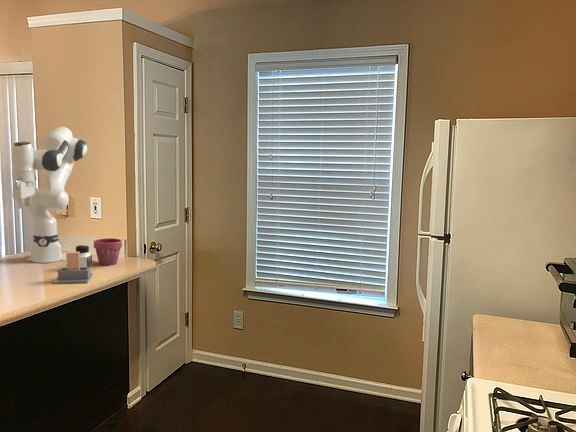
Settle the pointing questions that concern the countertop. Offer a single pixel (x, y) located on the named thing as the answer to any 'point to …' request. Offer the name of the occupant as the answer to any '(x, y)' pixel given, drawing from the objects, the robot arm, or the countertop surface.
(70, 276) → the rack
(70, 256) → the tall tan pillar block
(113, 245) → the plant pot
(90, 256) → the medicine bottle
